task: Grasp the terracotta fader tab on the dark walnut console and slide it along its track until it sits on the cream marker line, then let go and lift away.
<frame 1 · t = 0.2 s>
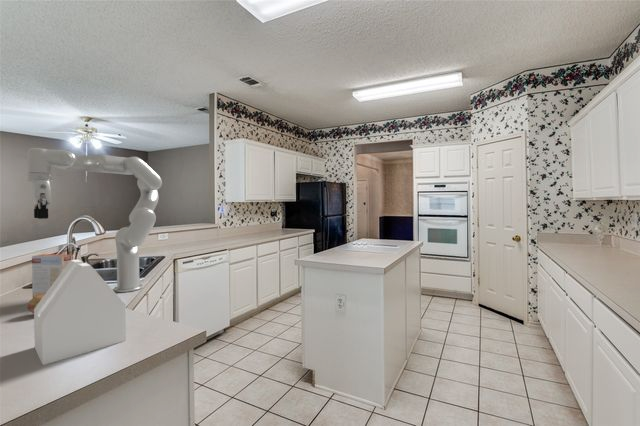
hand: (41, 218, 128), 37 cm above the counter, tool pointing down, fingers open, 9 cm apart
cracker box: (53, 303, 132), on the counter
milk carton: (81, 345, 92), on the counter
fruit: (42, 315, 118), on the counter
fader: (97, 292, 124), point 7 cm above the counter, slide at 0.0 cm
console: (82, 315, 117), on the counter
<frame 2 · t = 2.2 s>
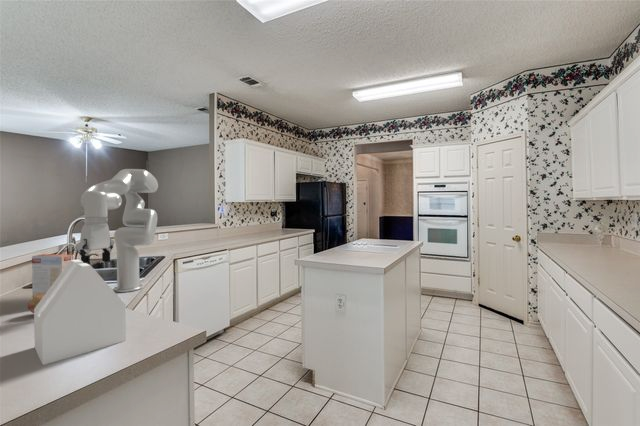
hand: (96, 263, 123), 19 cm above the counter, tool pointing down, fingers open, 9 cm apart
nothing on the counter moved.
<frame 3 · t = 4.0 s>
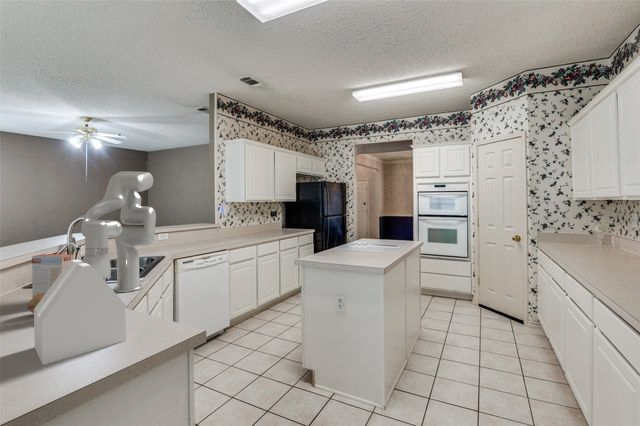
hand: (97, 296, 124), 5 cm above the counter, tool pointing down, fingers closed on fader, 2 cm apart
fader: (97, 292, 124), point 7 cm above the counter, slide at 0.0 cm, touching gripper
everything else where it was.
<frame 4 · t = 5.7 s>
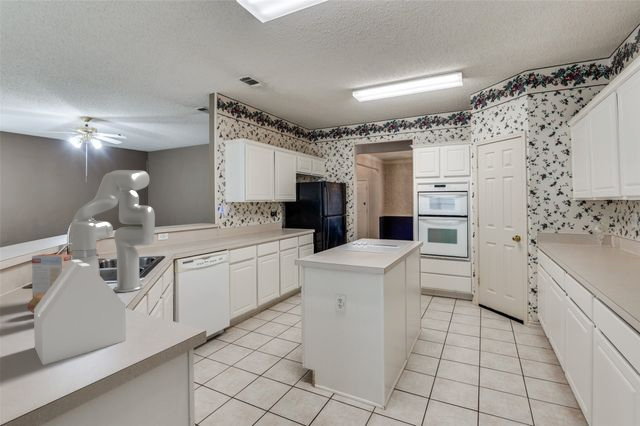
hand: (85, 300, 118), 5 cm above the counter, tool pointing down, fingers closed on fader, 2 cm apart
fader: (85, 296, 118), point 7 cm above the counter, slide at 5.5 cm, touching gripper
everything else where it was.
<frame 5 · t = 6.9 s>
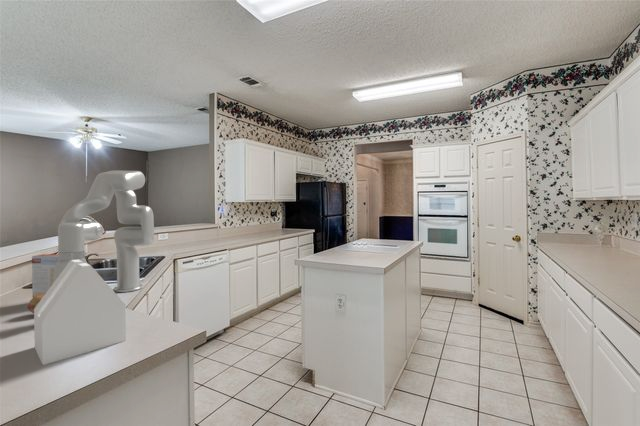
hand: (72, 304, 113), 5 cm above the counter, tool pointing down, fingers closed on fader, 2 cm apart
fader: (72, 300, 113), point 7 cm above the counter, slide at 10.8 cm, touching gripper
everything else where it was.
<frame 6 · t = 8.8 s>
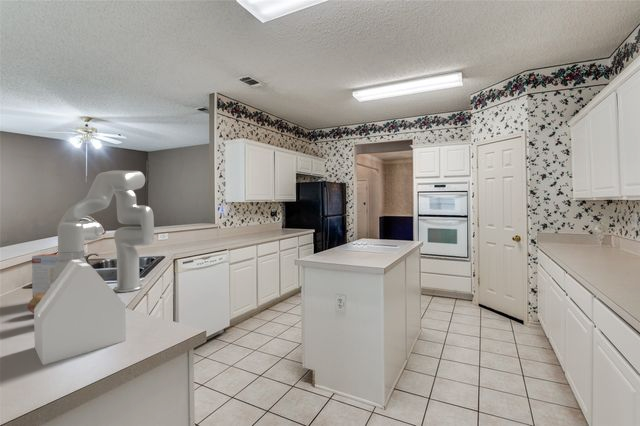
hand: (72, 301, 113), 6 cm above the counter, tool pointing down, fingers open, 9 cm apart
fader: (72, 300, 113), point 7 cm above the counter, slide at 11.0 cm
everything else where it was.
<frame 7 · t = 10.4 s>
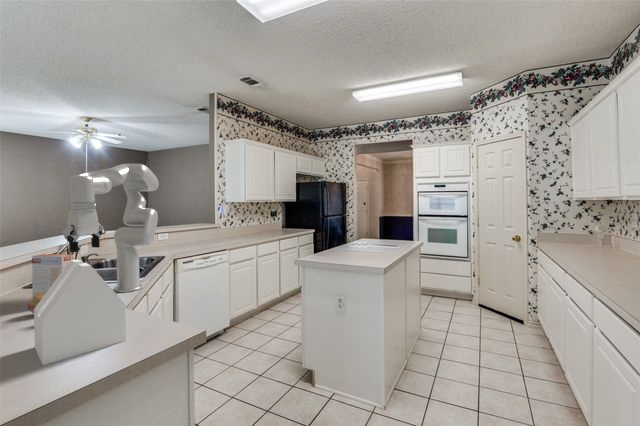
hand: (85, 249, 121), 25 cm above the counter, tool pointing down, fingers open, 9 cm apart
nothing on the counter moved.
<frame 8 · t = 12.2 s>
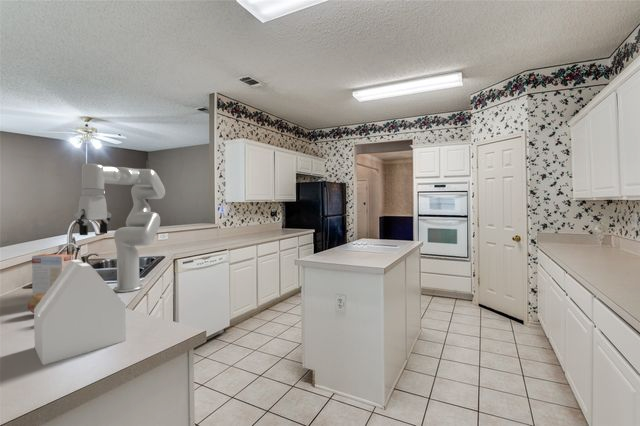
hand: (94, 234, 128), 30 cm above the counter, tool pointing down, fingers open, 9 cm apart
nothing on the counter moved.
at the end: fader slide at 11.0 cm; the gripper is holding nothing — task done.
